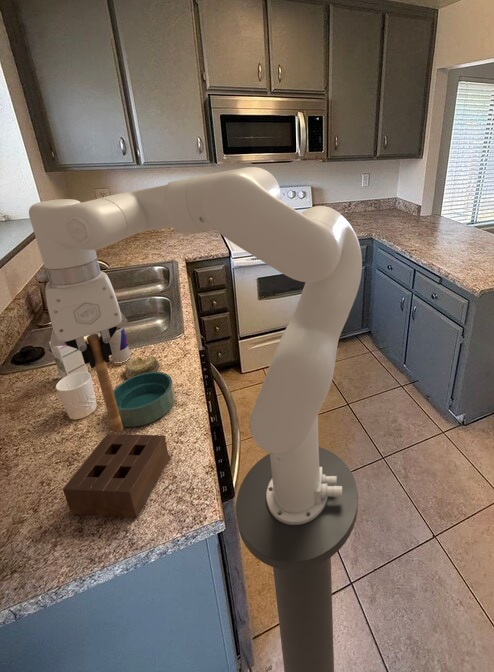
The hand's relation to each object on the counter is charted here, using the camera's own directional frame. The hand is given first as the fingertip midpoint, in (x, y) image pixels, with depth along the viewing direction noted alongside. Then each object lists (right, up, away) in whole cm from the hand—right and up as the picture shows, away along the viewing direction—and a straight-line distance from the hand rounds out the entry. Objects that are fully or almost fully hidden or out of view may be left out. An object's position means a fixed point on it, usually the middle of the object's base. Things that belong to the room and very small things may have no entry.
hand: (99, 361), depth 68 cm
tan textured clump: (-16, -17, +48) cm, 53 cm away
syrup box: (-35, -19, +44) cm, 60 cm away
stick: (0, -16, +5) cm, 17 cm away
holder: (-1, -29, +9) cm, 31 cm away
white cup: (-24, -23, +31) cm, 46 cm away
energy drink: (-26, -15, +53) cm, 61 cm away
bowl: (-7, -22, +32) cm, 39 cm away
